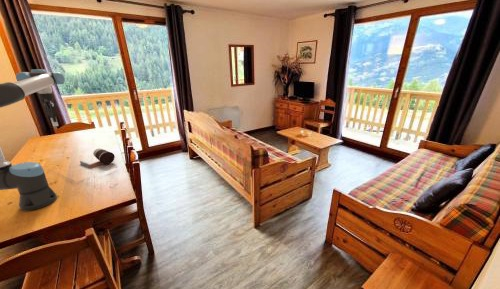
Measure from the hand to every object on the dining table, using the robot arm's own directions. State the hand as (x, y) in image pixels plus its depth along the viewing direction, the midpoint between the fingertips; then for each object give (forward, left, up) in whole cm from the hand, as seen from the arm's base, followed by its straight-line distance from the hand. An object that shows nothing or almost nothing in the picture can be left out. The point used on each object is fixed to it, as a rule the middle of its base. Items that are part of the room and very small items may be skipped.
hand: (55, 126), depth 152 cm
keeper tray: (+12, -18, -29) cm, 37 cm away
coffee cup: (+15, -18, -22) cm, 32 cm away
